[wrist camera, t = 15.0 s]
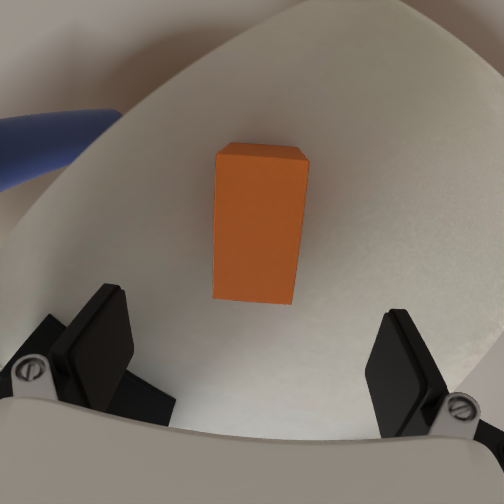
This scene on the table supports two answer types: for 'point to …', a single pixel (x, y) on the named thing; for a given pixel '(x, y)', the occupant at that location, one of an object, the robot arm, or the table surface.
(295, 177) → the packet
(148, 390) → the bin
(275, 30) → the table surface
